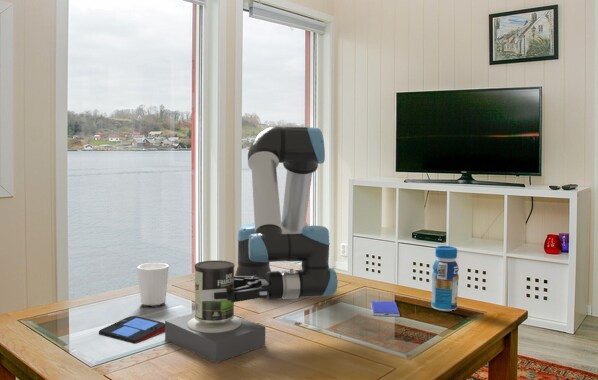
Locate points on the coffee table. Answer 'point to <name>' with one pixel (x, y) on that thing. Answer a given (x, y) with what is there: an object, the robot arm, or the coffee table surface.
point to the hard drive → (385, 308)
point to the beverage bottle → (445, 279)
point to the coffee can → (213, 278)
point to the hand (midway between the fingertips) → (198, 290)
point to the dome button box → (215, 336)
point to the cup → (153, 283)
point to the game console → (133, 329)
